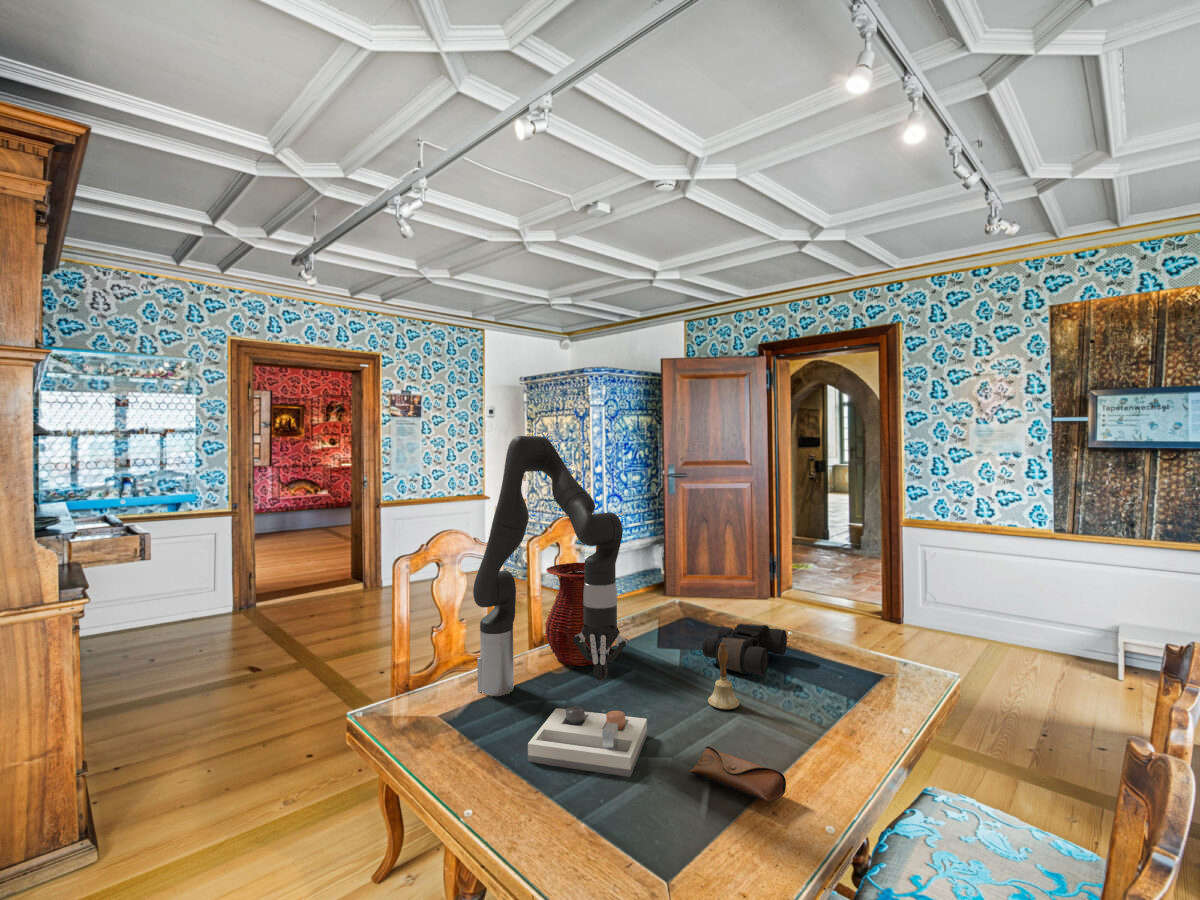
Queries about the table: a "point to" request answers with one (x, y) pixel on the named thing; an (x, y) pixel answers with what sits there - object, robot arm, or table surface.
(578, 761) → the console
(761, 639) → the binoculars
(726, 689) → the hand bell
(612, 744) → the steel slider
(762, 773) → the sunglasses case
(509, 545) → the robot arm
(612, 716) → the terracotta button
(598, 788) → the table surface
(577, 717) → the black button
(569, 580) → the vase
